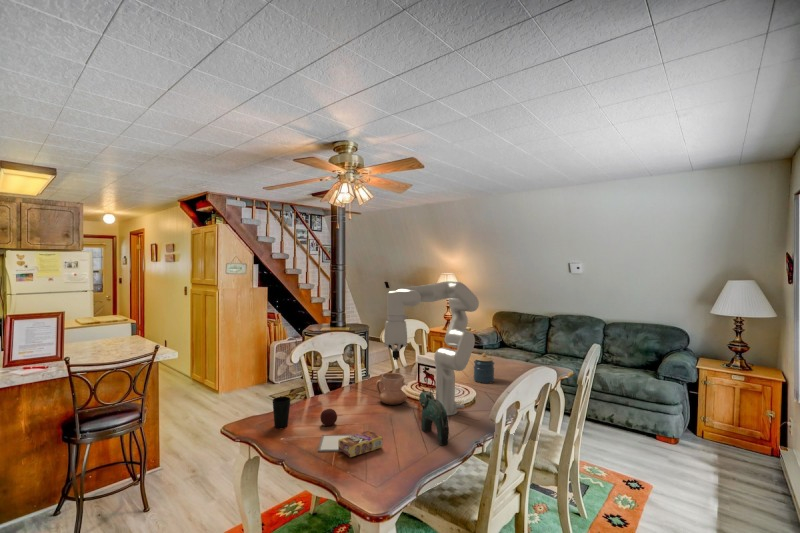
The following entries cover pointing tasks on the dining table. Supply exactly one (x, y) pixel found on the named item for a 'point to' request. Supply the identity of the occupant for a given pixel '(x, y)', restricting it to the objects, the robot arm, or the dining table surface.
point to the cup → (281, 411)
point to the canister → (484, 369)
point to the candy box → (360, 443)
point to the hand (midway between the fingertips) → (395, 359)
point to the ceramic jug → (392, 388)
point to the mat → (330, 443)
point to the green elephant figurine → (434, 416)
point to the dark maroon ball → (328, 417)
